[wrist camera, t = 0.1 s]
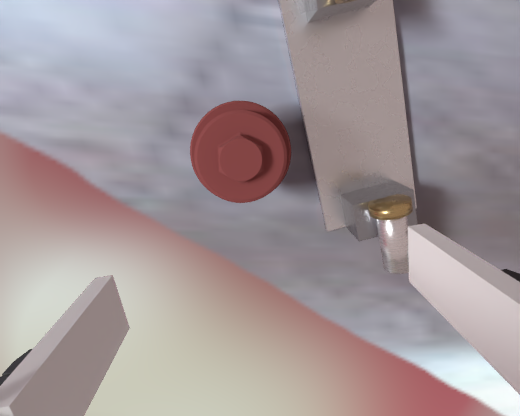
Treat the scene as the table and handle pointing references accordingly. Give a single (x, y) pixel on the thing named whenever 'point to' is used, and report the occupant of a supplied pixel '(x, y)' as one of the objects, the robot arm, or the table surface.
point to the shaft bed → (355, 118)
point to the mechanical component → (240, 151)
